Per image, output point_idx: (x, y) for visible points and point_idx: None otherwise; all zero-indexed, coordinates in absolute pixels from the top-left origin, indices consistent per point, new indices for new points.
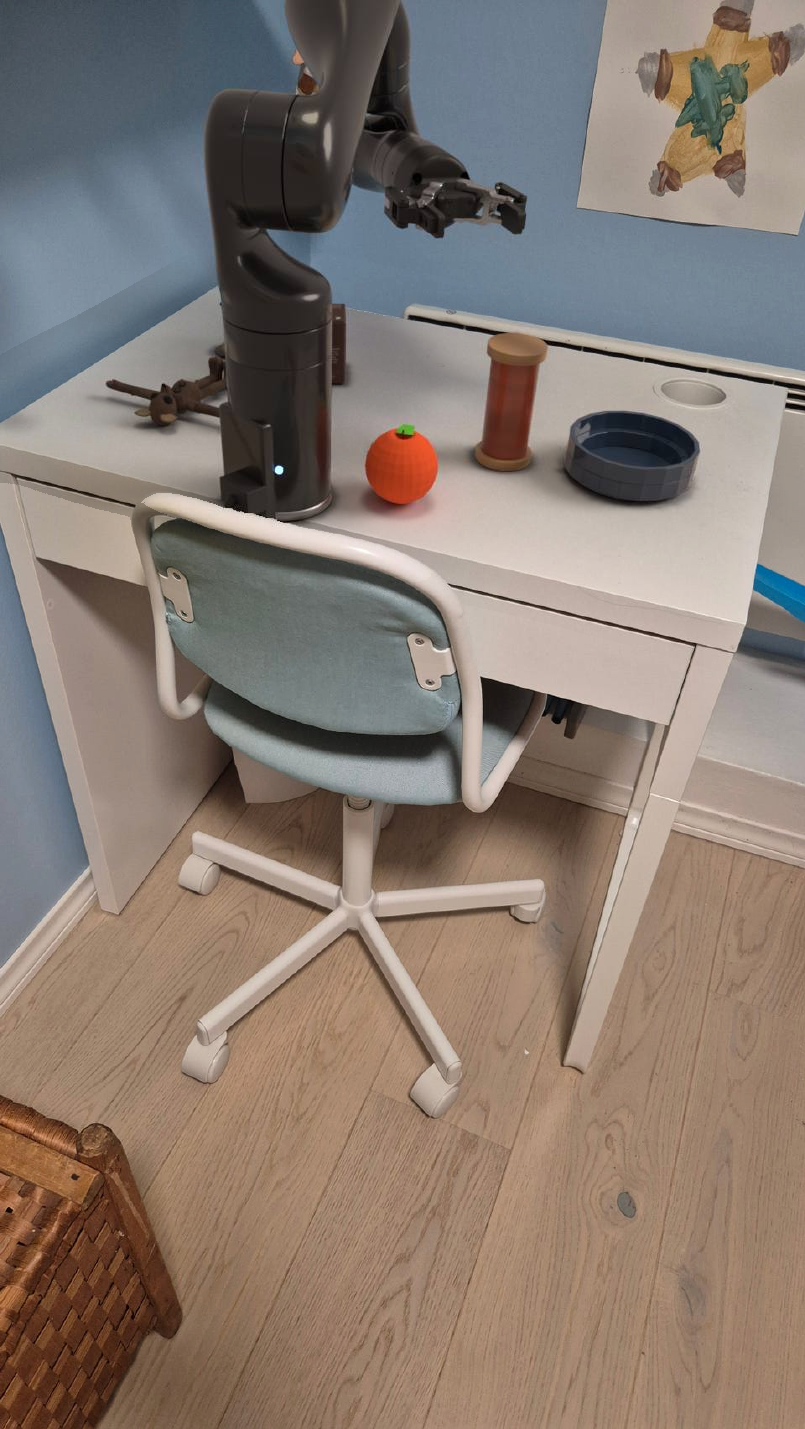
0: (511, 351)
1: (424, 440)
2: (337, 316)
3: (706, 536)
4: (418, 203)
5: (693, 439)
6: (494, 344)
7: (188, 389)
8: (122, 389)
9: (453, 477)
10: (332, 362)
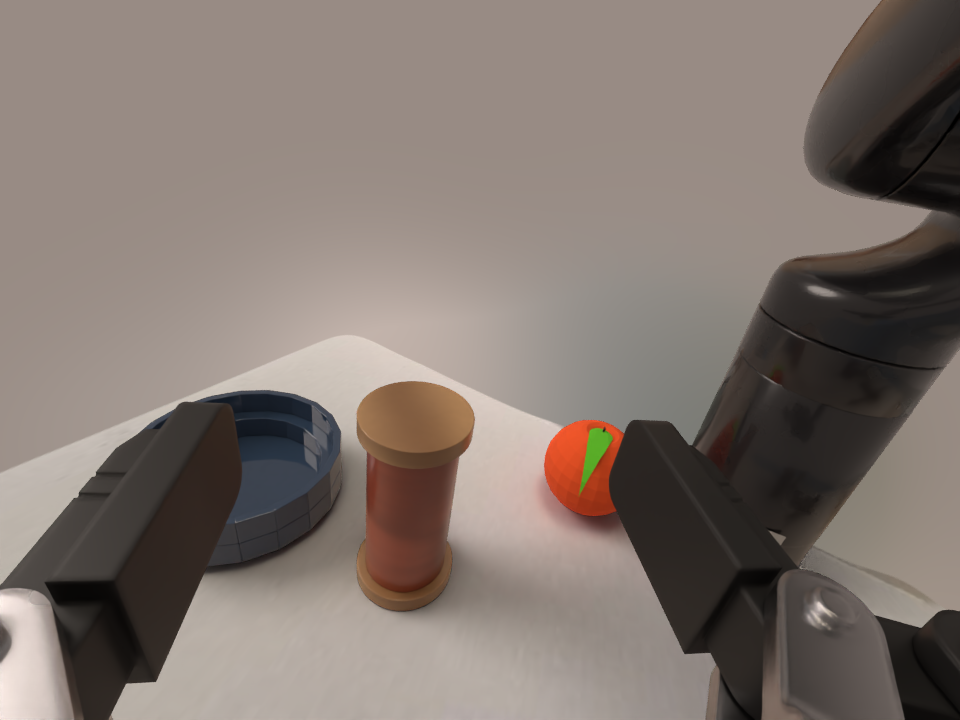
0: (443, 395)
1: (573, 430)
2: None
3: (272, 387)
4: (846, 591)
5: (151, 427)
6: (463, 419)
7: None
8: None
9: (500, 532)
10: None
